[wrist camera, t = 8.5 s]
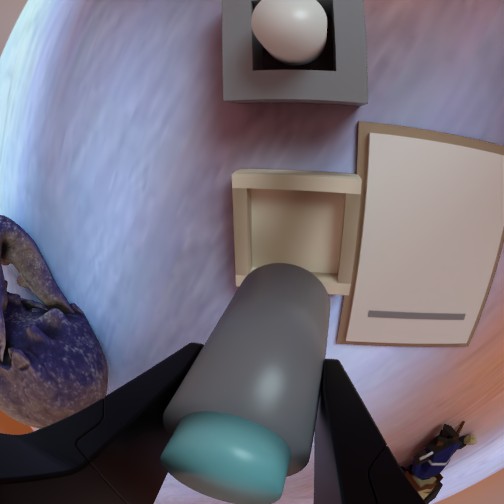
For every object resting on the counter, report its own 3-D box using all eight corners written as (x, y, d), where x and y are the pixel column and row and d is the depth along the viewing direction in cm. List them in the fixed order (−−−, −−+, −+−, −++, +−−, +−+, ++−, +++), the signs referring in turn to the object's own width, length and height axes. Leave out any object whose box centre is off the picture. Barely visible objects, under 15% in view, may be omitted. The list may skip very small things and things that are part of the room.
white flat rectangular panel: (516, 149, 14) (521, 151, 13) (467, 344, 20) (470, 349, 19) (358, 121, 16) (359, 121, 15) (336, 341, 22) (336, 347, 21)
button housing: (355, -2, 13) (360, -22, 10) (360, 106, 16) (367, 103, 13) (236, -1, 14) (222, -19, 11) (238, 103, 17) (223, 100, 14)
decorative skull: (-78, 224, 14) (-42, 398, 19) (62, 302, 15) (82, 480, 20) (9, 201, 26) (14, 348, 31) (143, 245, 27) (124, 404, 32)
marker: (338, 272, 10) (319, 467, 4) (320, 348, 12) (287, 519, 5) (240, 255, 11) (127, 413, 5) (236, 331, 12) (157, 482, 6)
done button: (325, 11, 12) (325, -10, 9) (327, 66, 13) (328, 54, 11) (263, 12, 13) (250, -8, 10) (264, 65, 14) (251, 54, 11)
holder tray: (357, 174, 17) (361, 179, 16) (347, 281, 20) (349, 295, 18) (239, 168, 19) (231, 173, 17) (242, 273, 21) (236, 286, 20)
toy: (493, 427, 21) (434, 510, 24) (461, 399, 27) (413, 482, 30) (439, 450, 20) (378, 533, 22) (405, 413, 26) (358, 499, 28)
